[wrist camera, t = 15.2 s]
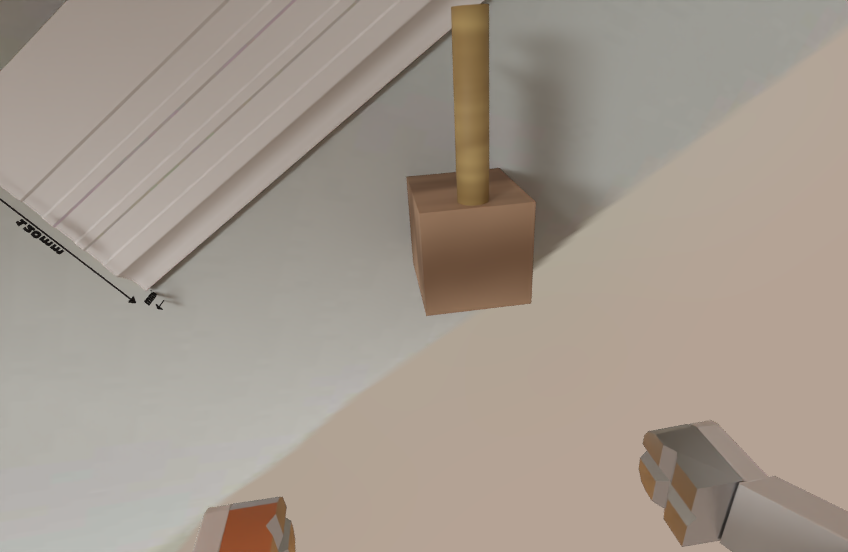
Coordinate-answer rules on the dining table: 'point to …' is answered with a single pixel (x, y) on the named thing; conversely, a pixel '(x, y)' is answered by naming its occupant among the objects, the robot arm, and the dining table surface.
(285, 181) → the dining table surface
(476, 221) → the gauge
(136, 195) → the baseboard molding
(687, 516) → the robot arm
